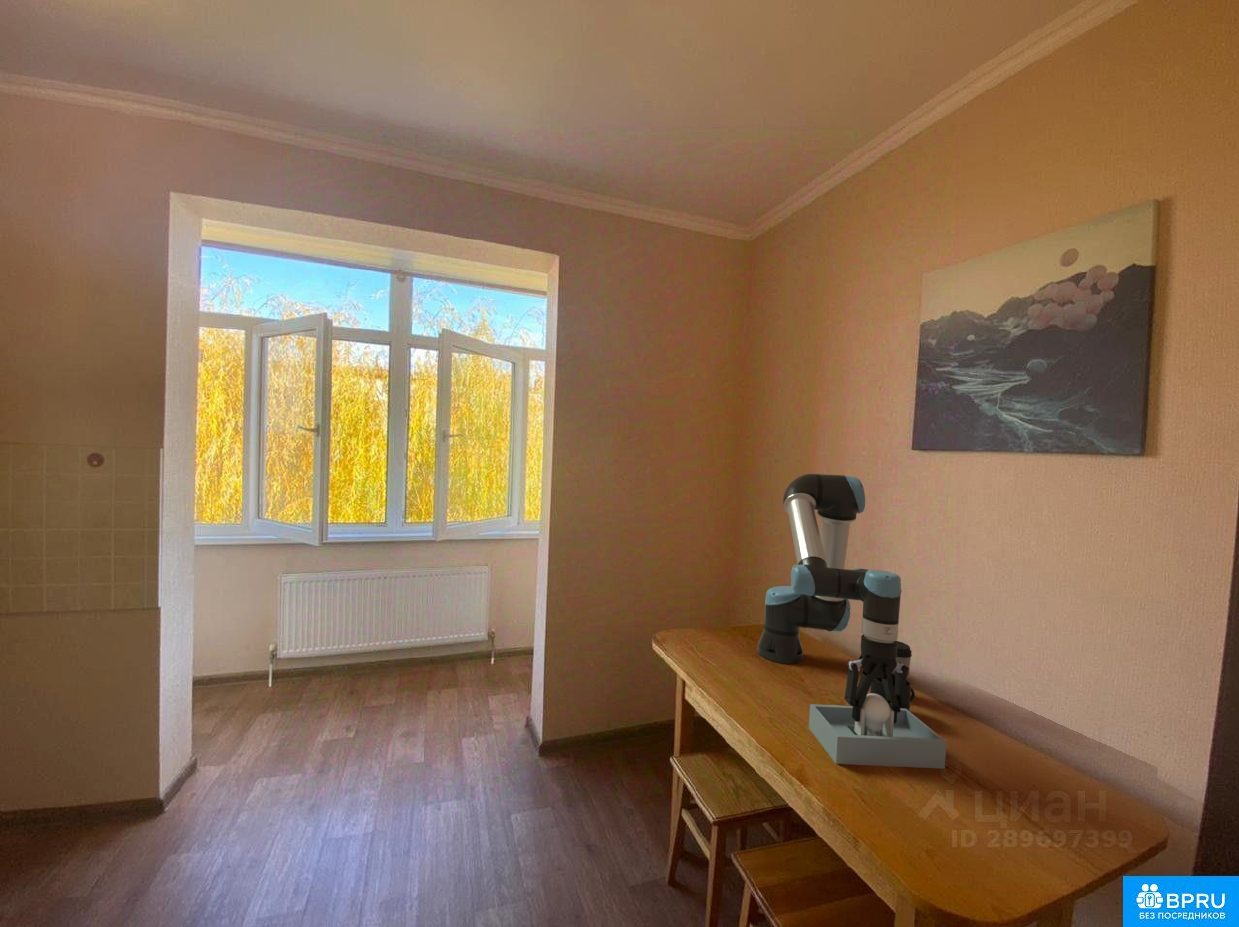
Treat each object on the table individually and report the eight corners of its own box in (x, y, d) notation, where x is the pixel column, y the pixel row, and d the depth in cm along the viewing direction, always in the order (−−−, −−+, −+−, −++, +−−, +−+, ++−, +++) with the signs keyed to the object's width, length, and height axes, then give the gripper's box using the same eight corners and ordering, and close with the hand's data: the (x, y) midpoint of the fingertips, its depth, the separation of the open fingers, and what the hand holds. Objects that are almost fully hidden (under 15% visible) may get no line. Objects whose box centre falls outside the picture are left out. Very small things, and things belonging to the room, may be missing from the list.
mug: (926, 721, 124) (928, 687, 124) (884, 721, 123) (886, 687, 123) (901, 703, 134) (903, 671, 134) (861, 703, 132) (863, 671, 132)
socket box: (808, 727, 118) (810, 704, 118) (904, 732, 118) (906, 708, 118) (835, 763, 104) (837, 736, 104) (944, 768, 104) (946, 741, 104)
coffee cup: (903, 705, 133) (906, 652, 133) (871, 693, 139) (875, 642, 139) (913, 696, 138) (916, 645, 138) (882, 685, 144) (885, 636, 144)
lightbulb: (851, 735, 113) (854, 690, 112) (870, 731, 115) (873, 686, 115) (875, 751, 107) (878, 703, 107) (894, 746, 109) (897, 699, 109)
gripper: (847, 641, 107) (841, 742, 107) (929, 645, 107) (923, 746, 107) (831, 629, 114) (825, 724, 114) (908, 633, 115) (903, 727, 115)
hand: (873, 734), depth 111 cm, fingers closed on lightbulb, 6 cm apart
